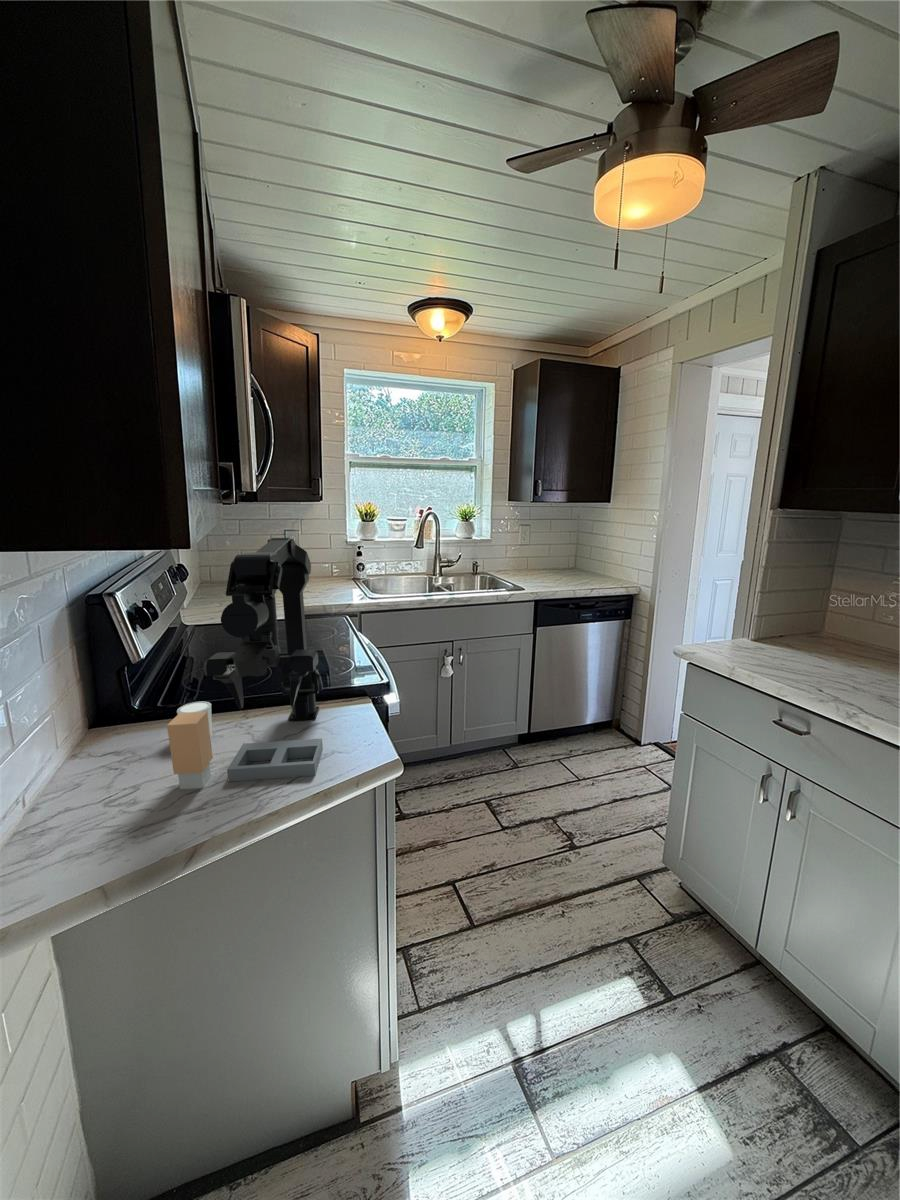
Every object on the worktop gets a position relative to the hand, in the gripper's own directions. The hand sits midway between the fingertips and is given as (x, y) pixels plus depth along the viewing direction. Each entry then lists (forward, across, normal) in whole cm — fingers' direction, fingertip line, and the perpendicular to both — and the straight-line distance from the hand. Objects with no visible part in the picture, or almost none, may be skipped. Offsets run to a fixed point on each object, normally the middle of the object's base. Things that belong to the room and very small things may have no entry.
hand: (266, 706), depth 89 cm
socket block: (+14, 0, +5) cm, 15 cm away
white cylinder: (+14, -22, +20) cm, 33 cm away
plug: (+14, -14, 0) cm, 20 cm away
